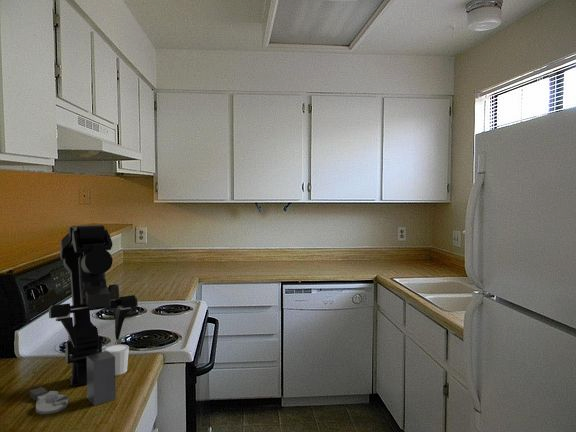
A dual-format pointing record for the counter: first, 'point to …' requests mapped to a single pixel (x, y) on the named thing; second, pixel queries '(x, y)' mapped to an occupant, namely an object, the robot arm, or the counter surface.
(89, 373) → the dark grey square block
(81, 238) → the robot arm
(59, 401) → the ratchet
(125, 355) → the white tapered cup
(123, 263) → the counter surface
